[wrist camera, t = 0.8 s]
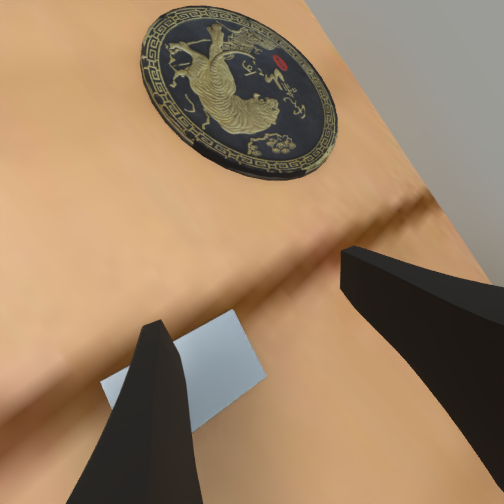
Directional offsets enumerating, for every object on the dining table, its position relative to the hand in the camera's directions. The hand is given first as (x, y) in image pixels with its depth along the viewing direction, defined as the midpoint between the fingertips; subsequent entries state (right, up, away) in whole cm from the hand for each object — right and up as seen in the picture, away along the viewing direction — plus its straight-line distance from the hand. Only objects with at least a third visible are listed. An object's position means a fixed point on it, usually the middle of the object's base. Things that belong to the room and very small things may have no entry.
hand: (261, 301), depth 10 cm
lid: (-6, -9, +14) cm, 18 cm away
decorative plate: (-1, +25, +30) cm, 39 cm away
